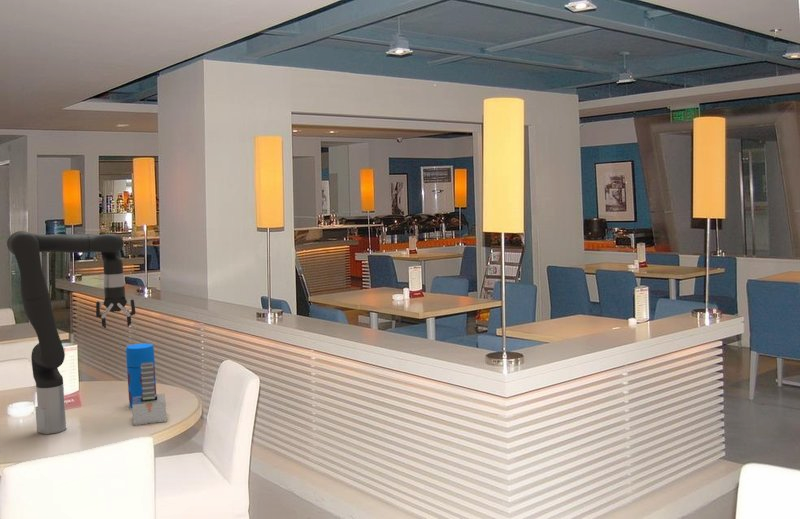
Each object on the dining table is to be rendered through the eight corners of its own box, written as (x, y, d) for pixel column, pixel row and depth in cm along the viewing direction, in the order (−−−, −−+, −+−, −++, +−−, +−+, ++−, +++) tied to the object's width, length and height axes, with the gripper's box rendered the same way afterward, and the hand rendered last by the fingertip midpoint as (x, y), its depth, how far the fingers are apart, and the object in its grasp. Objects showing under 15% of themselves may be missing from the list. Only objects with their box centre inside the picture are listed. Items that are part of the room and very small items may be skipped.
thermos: (161, 402, 329) (157, 343, 327) (150, 409, 319) (147, 348, 316) (136, 401, 330) (132, 343, 328) (124, 409, 320) (121, 348, 317)
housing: (166, 422, 300) (165, 401, 300) (133, 425, 297) (132, 405, 296) (165, 413, 312) (164, 393, 312) (134, 416, 309) (132, 396, 308)
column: (155, 405, 303) (153, 364, 301) (143, 406, 302) (140, 365, 300) (155, 402, 307) (153, 361, 306) (143, 403, 306) (140, 362, 304)
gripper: (133, 283, 308) (136, 323, 310) (95, 285, 304) (97, 326, 306) (133, 285, 301) (136, 327, 303) (93, 287, 297) (96, 330, 298)
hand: (116, 326), depth 304 cm, fingers open, 8 cm apart
